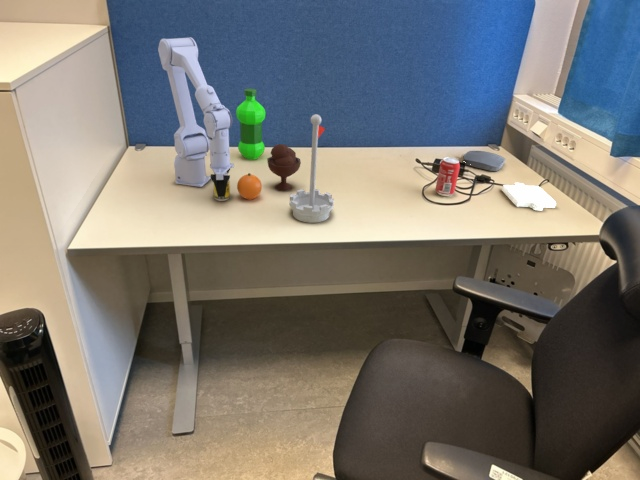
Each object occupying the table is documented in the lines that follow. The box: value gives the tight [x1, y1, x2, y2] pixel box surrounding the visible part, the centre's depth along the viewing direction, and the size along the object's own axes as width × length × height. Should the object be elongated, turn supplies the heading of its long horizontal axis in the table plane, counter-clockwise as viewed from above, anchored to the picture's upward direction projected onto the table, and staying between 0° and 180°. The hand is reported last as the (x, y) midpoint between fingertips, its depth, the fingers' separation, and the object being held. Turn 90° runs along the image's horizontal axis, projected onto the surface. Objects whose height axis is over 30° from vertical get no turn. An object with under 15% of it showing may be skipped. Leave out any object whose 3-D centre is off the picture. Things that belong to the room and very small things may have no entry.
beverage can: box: [435, 156, 461, 197], centre depth 157 cm, size 6×6×12 cm
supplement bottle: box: [213, 172, 231, 202], centre depth 145 cm, size 5×5×8 cm
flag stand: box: [289, 113, 335, 224], centre depth 133 cm, size 13×13×30 cm
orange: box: [236, 173, 263, 201], centre depth 146 cm, size 8×8×8 cm
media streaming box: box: [461, 150, 506, 172], centre depth 186 cm, size 15×15×3 cm
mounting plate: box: [501, 182, 557, 212], centre depth 159 cm, size 18×13×2 cm
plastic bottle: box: [235, 88, 266, 160], centre depth 172 cm, size 10×10×25 cm
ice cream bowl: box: [267, 143, 302, 192], centre depth 153 cm, size 11×11×15 cm
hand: (221, 192), depth 146 cm, fingers closed on supplement bottle, 5 cm apart
